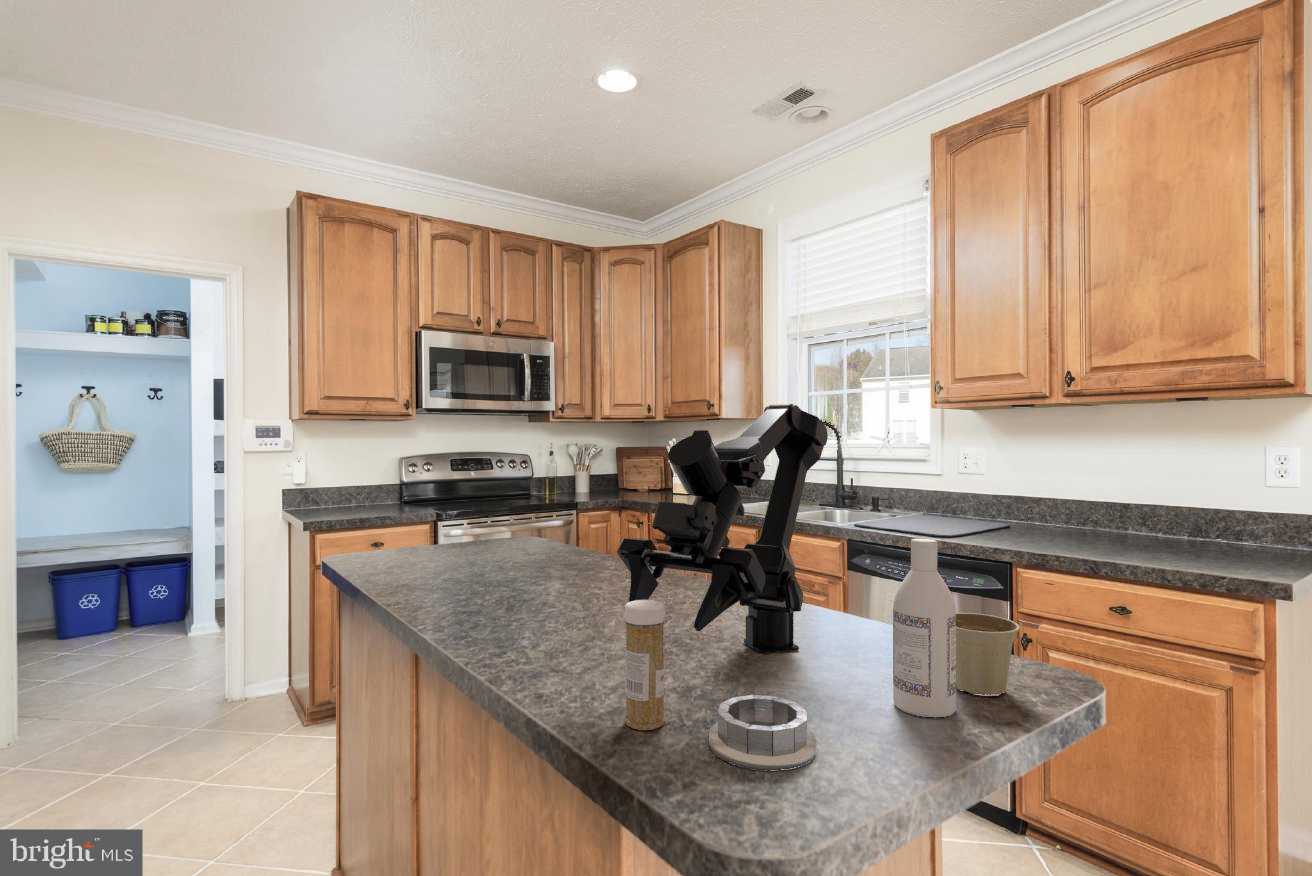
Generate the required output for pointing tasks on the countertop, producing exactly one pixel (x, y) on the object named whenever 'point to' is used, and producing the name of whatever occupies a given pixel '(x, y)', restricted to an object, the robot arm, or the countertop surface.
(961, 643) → the flower pot
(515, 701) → the countertop surface
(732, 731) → the socket
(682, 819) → the countertop surface
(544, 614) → the countertop surface
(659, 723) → the sprinkles bottle
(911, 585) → the bath foam
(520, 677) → the countertop surface
